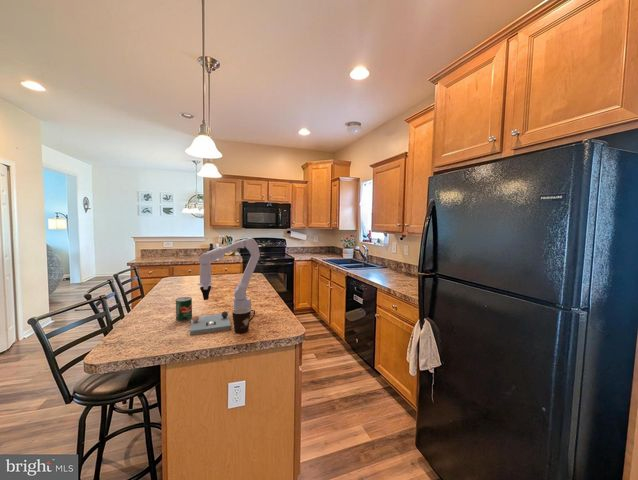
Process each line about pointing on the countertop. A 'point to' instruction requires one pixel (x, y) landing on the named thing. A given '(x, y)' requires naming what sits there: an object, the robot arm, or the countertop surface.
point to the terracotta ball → (195, 318)
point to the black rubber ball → (224, 314)
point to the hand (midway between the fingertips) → (205, 299)
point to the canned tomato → (183, 309)
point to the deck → (219, 325)
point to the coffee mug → (242, 320)
